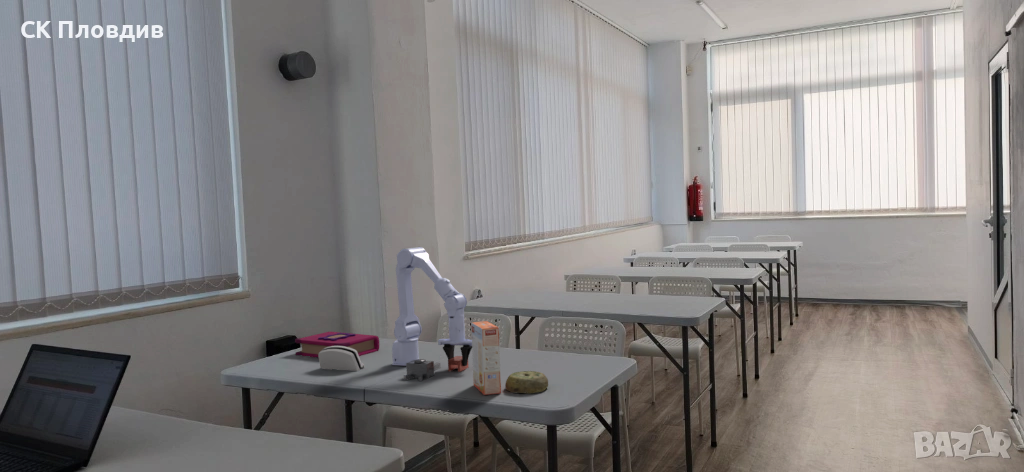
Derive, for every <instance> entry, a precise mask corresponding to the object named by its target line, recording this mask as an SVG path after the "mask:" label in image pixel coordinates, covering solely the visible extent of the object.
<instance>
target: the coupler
mask: <svg viewBox="0 0 1024 472" xmlns="http://www.w3.org/2000/svg"><path fill="white" fill-rule="evenodd" d="M434 361H435V360H434ZM434 361H433V360H427V359H424V358H419V359H417V360H412V361H410V362H408V363H406V374H405V375H403V380H404V379H405V380H404V381H407V379H408V380H411V378H412V379H418V381H419V382H421V381H423V379H424V380H425V379H426V380H427V379H428V380H429V379H430V378H432V377H433V376H435V371H436V370H438V369H441V368H442V367H441V362H435V363H434Z"/></svg>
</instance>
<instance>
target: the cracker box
mask: <svg viewBox="0 0 1024 472" xmlns="http://www.w3.org/2000/svg"><path fill="white" fill-rule="evenodd" d="M470 325H471V327H470V328H471V340H472V349H471V351H472V374H473V375H472V378H473V379H472V380H473V386H474V387H475V388H476V389H478V391H479V392H480V393H482V395H484V396H488V395H489V396H490V395H499V394H500V395H501V394H502V382H501V379H502V378H501V350H500V349H501V348H500V344H501V343H500V327H499V326H497V325H495V324H493V323H492V322H489V321H487V320H482V321H474V322H471V324H470Z"/></svg>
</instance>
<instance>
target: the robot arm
mask: <svg viewBox="0 0 1024 472" xmlns="http://www.w3.org/2000/svg"><path fill="white" fill-rule="evenodd" d="M396 260H397V261H396V262H397V263H396V265H395V266H396V267H395V275H396V287H397V299H398V300H397V301H398V309H399V316H398V317H397V318H396V319H395V321H394V328H393V329H394V330H393V335H394V337H395V339H396V340H394V342H392V345H391V352H392V353H391V354H392V362H391V366H406V363H408V362H410V361H412V360H417V359H420V353H419V340H420V336H421V334H422V331H423V328H422V327H423V326H422V325H421V323H420V318H419V317H418V316H417V315H416V314H415V304H414V295H413V291H414V290H413V281H412V273H413V271H414V270H415V269H416V268H418V269H421V270H422V271H423V273H424V274H425V275H426V276H427V277H428V278H429V279H430V280H431V281H432V282H433V284H434V285H433V287H434V288H433V289H434V290H435V291H436V292H437V294H438V295H439V297H440V298H441V299H442V300H443V302H444V304H443V305H444V308H445V309H446V315H447V317H448V338H440V339H438V340H437V343H438V344H437V345H438V346H443V347H442V350H443V352H444V353H445V355H446V358H447V361H448V360H449V359H451V358H453V357H455V346H461V347H459V348H460V351H461V353H460V354H461V356H462V364H463V366H466V365H467V361H468V362H469V357H470V354H471V351H472V339H468V338H466V330H465V329H466V328H465V325H466V324H465V308H466V307H467V304H468V301H467V297H466V295H465V294H464V293H461V292H459V291H458V290H457V289H456V288H455V287H454V285H452V283H451V280H450V279H448V278H447V277H442V275H441V274H440V272H439V271H438V269H437V268H436V266H435V265H434V264H433V262H432V261H431V259H430V254H429V253H428V252H427V250H426V249H425V248H424V247H422V246H418V247H409V248H402V249H401V250H400V251H399V252H397V254H396Z"/></svg>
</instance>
